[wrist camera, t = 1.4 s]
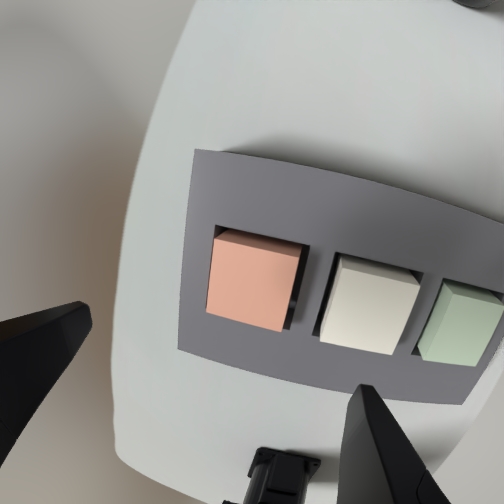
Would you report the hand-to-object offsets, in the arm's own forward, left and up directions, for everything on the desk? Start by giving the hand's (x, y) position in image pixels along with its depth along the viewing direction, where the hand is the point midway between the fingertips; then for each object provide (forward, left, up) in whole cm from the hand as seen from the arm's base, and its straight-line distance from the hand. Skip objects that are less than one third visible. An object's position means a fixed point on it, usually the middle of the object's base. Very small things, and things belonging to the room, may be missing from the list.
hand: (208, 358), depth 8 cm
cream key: (0, -6, -9) cm, 10 cm away
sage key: (0, -12, -9) cm, 15 cm away
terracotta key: (0, 0, -9) cm, 9 cm away
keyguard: (0, -6, -11) cm, 12 cm away
